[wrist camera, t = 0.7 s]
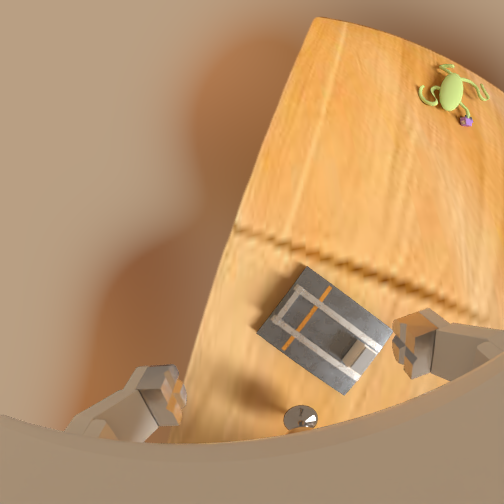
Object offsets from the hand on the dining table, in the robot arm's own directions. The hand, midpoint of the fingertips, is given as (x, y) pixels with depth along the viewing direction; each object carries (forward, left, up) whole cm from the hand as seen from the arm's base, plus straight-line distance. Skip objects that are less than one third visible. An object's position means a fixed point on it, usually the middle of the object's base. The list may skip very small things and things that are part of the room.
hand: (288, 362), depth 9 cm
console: (-9, 0, -46) cm, 47 cm away
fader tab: (-16, 0, -44) cm, 47 cm away
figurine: (-7, -77, -47) cm, 90 cm away
